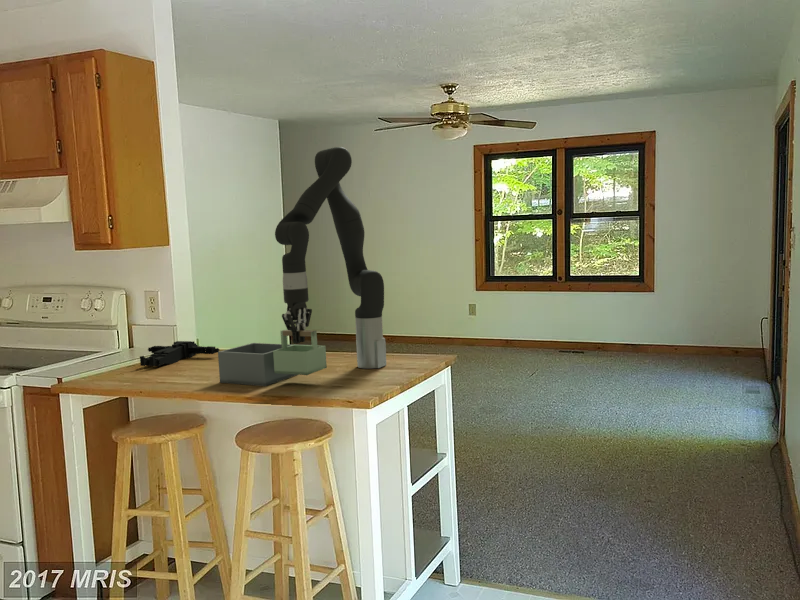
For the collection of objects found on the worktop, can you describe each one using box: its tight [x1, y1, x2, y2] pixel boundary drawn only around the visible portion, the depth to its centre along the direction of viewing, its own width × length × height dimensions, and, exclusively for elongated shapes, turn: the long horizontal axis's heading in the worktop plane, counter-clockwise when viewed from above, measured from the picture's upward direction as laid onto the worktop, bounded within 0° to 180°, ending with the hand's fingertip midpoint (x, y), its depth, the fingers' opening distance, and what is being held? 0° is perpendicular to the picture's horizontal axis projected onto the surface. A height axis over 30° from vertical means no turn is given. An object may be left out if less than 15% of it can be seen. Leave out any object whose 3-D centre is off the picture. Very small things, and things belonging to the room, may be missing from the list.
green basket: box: [273, 329, 328, 376], centre depth 222 cm, size 12×11×12 cm
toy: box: [139, 340, 221, 367], centre depth 272 cm, size 31×6×30 cm
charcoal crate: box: [217, 342, 297, 387], centre depth 234 cm, size 18×18×10 cm
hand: (299, 342), depth 222 cm, fingers closed on green basket
